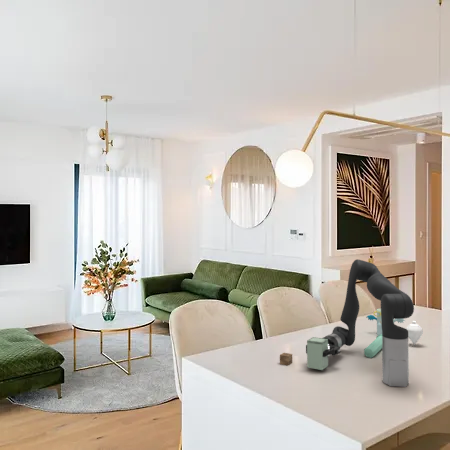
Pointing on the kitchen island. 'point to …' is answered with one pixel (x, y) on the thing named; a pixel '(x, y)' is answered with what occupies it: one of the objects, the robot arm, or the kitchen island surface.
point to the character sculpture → (379, 321)
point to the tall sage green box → (317, 353)
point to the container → (374, 347)
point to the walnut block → (285, 359)
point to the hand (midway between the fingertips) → (315, 353)
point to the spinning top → (414, 332)
